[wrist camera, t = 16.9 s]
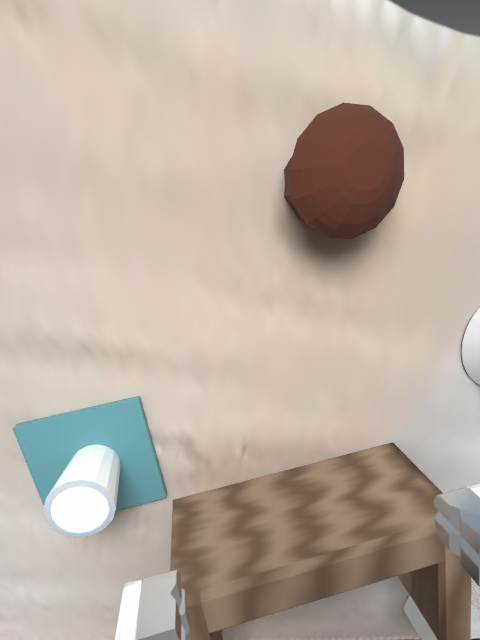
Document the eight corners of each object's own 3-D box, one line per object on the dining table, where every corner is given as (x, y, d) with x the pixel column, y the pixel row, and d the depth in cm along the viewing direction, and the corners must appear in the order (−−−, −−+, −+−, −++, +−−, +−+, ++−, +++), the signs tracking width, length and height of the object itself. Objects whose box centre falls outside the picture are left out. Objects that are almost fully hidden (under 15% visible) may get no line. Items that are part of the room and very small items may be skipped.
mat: (139, 395, 41) (138, 399, 40) (166, 491, 45) (166, 497, 44) (16, 423, 40) (12, 428, 39) (55, 520, 44) (52, 527, 43)
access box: (392, 442, 49) (472, 522, 36) (400, 566, 55) (470, 674, 42) (173, 500, 46) (168, 612, 32) (207, 625, 52) (216, 762, 39)
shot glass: (78, 497, 42) (59, 547, 36) (55, 451, 40) (30, 494, 34) (134, 478, 43) (125, 524, 36) (113, 432, 41) (100, 471, 34)
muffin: (291, 108, 36) (329, 64, 27) (383, 144, 39) (449, 115, 29) (259, 222, 39) (283, 219, 29) (347, 249, 41) (397, 255, 31)
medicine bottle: (401, 608, 58) (455, 702, 46) (418, 573, 56) (478, 662, 45) (436, 610, 59) (497, 702, 48) (454, 577, 58) (521, 663, 46)
